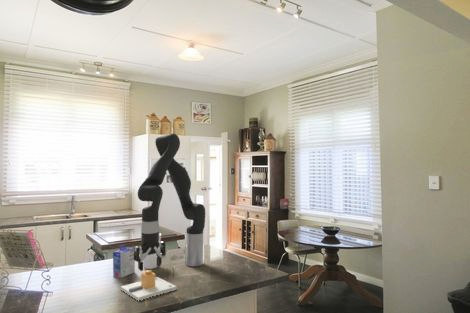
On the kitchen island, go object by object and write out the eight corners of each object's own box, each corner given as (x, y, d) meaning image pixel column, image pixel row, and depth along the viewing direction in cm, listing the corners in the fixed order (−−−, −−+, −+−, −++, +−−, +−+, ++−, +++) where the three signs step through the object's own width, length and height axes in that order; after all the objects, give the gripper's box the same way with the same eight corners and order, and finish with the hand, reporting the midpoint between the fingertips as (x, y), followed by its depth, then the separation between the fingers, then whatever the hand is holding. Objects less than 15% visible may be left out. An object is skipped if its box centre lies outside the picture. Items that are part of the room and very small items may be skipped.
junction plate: (120, 290, 142) (120, 277, 142) (157, 280, 154) (157, 268, 154) (138, 301, 130) (138, 287, 130) (176, 289, 143) (176, 277, 143)
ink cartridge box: (126, 270, 167) (127, 242, 167) (135, 272, 165) (135, 243, 165) (112, 276, 158) (112, 246, 158) (120, 278, 156) (121, 248, 156)
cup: (136, 268, 171) (136, 235, 172) (148, 262, 181) (148, 231, 181) (153, 271, 167) (154, 237, 168) (165, 265, 177) (165, 233, 177)
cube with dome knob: (146, 288, 139) (146, 273, 139) (141, 286, 142) (141, 271, 143) (155, 286, 142) (155, 271, 142) (150, 283, 145) (150, 268, 146)
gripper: (139, 234, 135) (139, 274, 135) (168, 229, 145) (168, 266, 145) (130, 232, 140) (130, 269, 140) (159, 227, 150) (159, 262, 150)
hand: (150, 268), depth 142 cm, fingers open, 8 cm apart
